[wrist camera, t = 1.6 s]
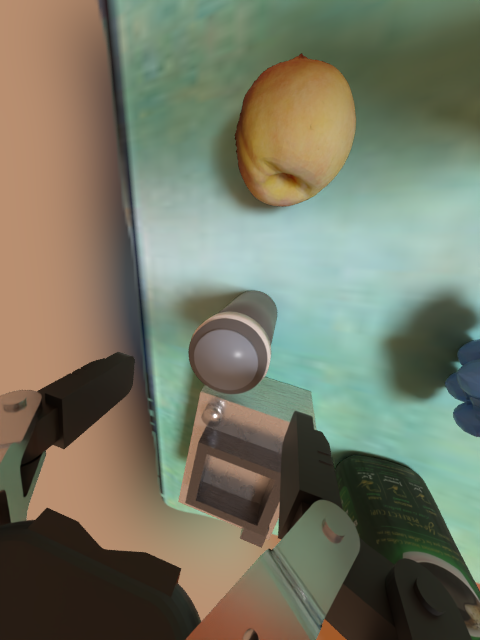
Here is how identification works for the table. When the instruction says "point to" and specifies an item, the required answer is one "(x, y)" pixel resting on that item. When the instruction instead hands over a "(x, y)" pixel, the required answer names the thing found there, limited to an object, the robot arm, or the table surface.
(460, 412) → the grapes
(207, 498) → the box with square recess
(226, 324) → the flashlight
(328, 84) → the fruit
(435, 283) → the table surface
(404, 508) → the coffee jar
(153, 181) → the table surface
